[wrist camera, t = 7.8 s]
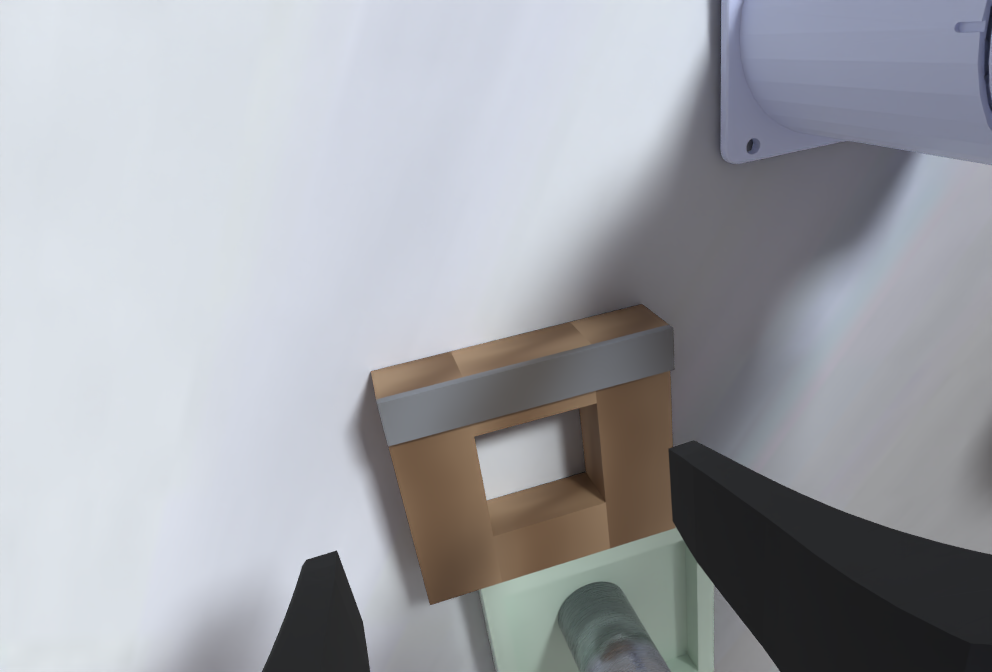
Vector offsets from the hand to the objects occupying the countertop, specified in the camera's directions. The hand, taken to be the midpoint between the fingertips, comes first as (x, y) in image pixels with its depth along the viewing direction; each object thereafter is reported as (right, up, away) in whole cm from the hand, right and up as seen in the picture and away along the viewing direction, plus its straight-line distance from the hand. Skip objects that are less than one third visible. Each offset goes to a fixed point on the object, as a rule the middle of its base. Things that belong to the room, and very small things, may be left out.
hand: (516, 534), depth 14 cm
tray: (+4, -8, +16) cm, 18 cm away
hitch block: (+1, 0, +11) cm, 11 cm away
